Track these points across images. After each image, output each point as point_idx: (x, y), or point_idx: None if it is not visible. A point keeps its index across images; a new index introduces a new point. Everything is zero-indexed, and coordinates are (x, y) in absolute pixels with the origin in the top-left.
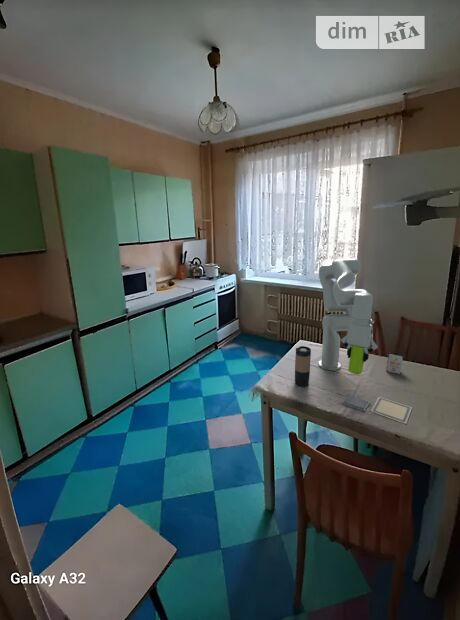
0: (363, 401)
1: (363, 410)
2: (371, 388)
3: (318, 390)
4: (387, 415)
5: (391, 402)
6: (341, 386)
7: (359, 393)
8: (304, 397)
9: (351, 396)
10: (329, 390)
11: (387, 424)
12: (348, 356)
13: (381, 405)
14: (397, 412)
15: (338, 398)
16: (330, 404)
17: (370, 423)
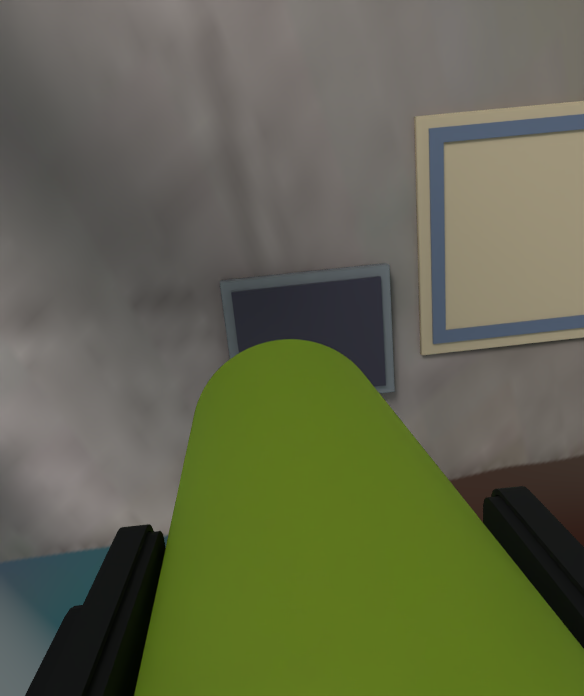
0: (353, 300)
1: (386, 390)
2: (321, 5)
3: (11, 365)
4: (526, 330)
5: (517, 135)
6: (107, 170)
7: (273, 173)
8: (3, 511)
9: (256, 299)
10: (72, 304)
11: (538, 407)
12: None
13: (465, 235)
14: (574, 243)
15: (184, 358)
16: (182, 461)
17: (454, 465)
